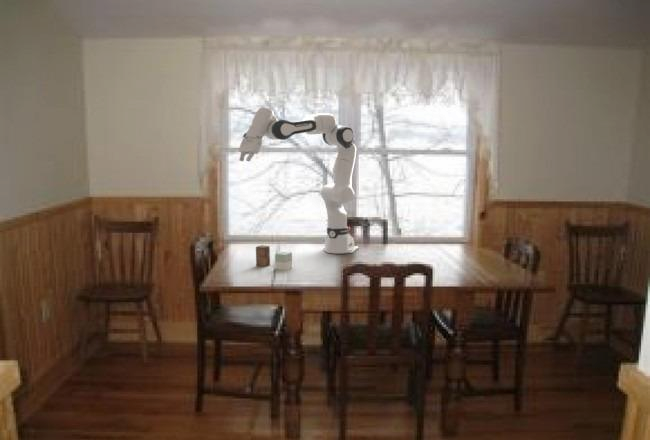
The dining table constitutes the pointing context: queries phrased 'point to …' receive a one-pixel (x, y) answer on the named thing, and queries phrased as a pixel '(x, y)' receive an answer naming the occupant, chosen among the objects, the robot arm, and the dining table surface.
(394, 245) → the dining table surface
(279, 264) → the tower base
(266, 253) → the walnut pillar
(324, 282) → the dining table surface
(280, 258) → the tower mid
